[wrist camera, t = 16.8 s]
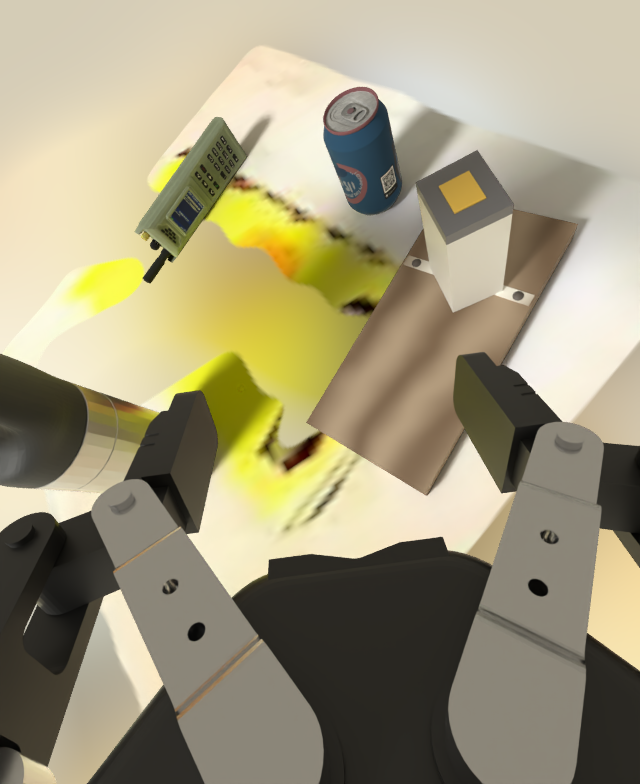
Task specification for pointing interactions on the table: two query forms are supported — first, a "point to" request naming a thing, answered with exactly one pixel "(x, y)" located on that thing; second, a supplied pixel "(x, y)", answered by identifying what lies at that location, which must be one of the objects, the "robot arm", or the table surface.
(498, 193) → the white tall block
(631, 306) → the table surface
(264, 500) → the table surface
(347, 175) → the soda can
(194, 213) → the handheld radio
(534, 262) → the subfloor panel
